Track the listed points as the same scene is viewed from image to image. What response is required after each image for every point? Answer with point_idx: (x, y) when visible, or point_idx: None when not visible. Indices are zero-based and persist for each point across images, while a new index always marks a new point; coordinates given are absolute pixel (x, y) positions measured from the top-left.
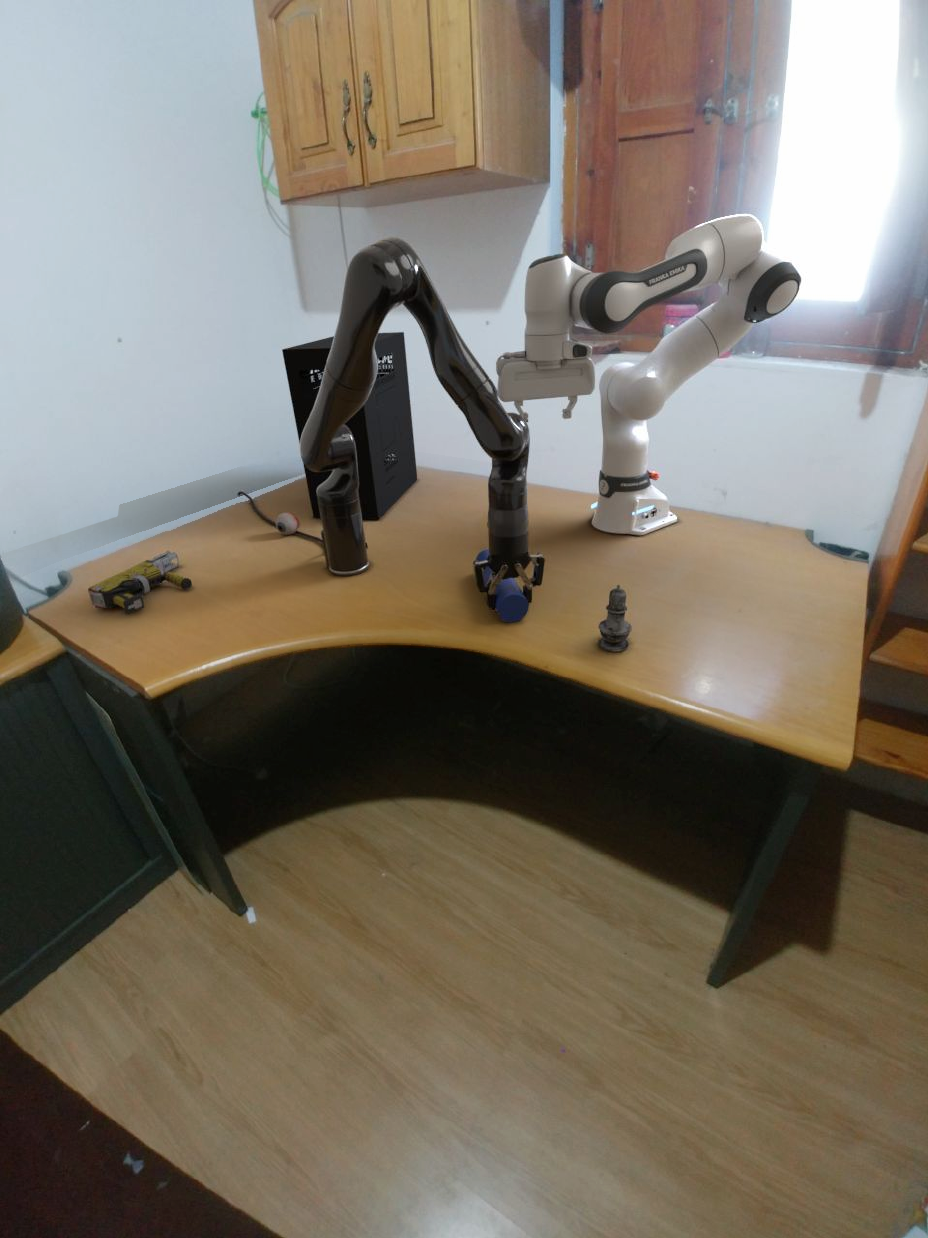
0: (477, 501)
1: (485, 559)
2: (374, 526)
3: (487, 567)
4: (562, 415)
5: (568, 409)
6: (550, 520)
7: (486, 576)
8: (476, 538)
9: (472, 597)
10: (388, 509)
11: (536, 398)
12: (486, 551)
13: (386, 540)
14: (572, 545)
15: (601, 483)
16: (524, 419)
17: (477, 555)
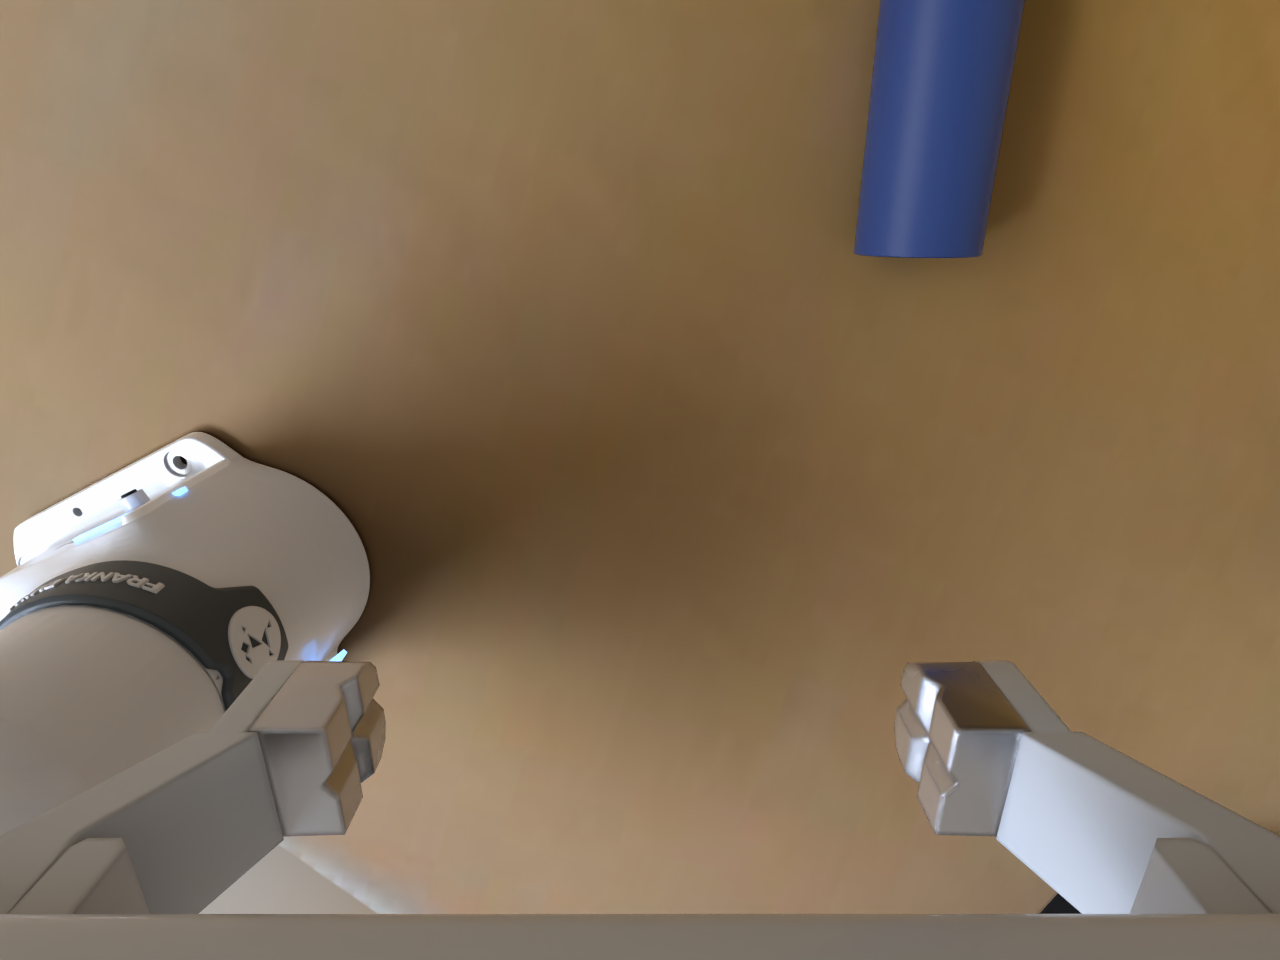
0: (731, 885)
1: (987, 150)
2: None
3: (1006, 61)
4: (378, 755)
5: (258, 755)
6: (517, 665)
7: (1023, 2)
8: (836, 583)
9: (1038, 32)
10: (1057, 894)
11: (951, 916)
12: (959, 226)
13: (1156, 653)
14: (495, 420)
15: (257, 661)
16: (982, 676)
17: (981, 253)
